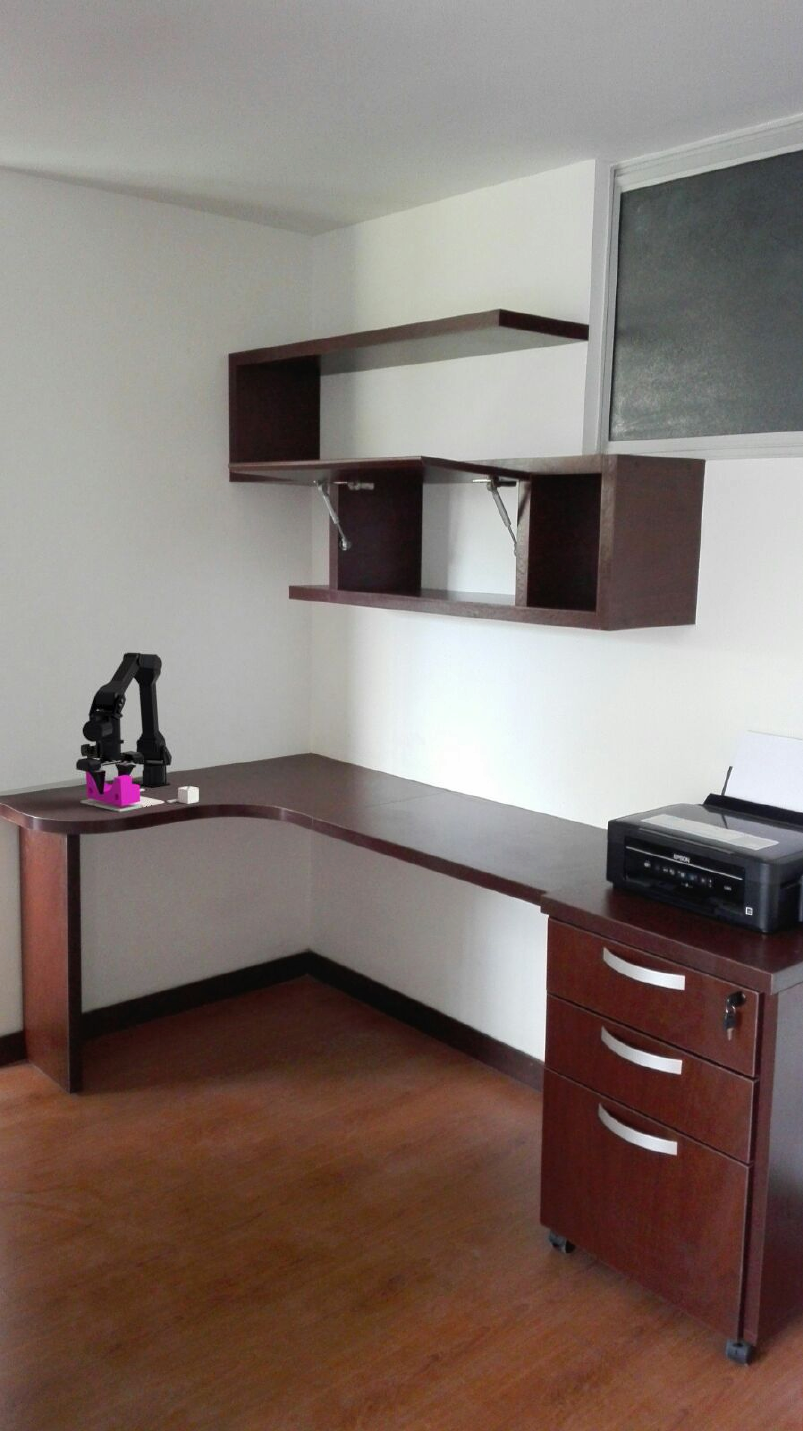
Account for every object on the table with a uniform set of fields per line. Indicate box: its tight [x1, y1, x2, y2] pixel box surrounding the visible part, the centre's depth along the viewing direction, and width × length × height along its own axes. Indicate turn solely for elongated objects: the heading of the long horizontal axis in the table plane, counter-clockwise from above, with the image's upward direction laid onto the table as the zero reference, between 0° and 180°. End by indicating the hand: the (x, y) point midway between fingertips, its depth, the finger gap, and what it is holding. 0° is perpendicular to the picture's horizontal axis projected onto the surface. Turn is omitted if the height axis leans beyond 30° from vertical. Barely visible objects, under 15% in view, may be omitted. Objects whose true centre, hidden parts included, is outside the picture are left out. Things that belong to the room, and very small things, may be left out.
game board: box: [80, 788, 178, 813], centre depth 331 cm, size 22×19×1 cm
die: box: [177, 785, 200, 805], centre depth 331 cm, size 4×4×4 cm
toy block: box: [85, 772, 141, 806], centre depth 324 cm, size 15×6×8 cm, turn 52°
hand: (111, 792), depth 325 cm, fingers closed on toy block, 6 cm apart
